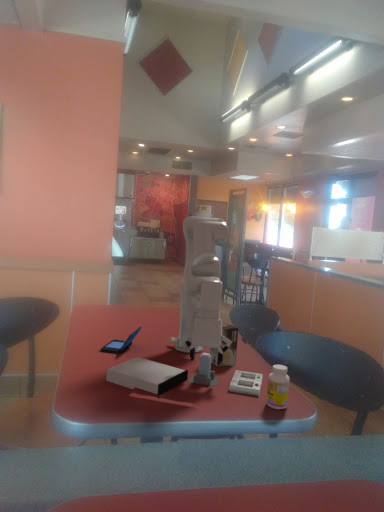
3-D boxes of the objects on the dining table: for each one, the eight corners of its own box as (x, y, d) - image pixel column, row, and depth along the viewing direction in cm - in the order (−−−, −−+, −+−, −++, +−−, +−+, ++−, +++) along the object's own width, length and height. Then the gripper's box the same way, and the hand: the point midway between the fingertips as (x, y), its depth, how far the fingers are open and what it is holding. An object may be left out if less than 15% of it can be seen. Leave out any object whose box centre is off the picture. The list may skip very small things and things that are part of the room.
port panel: (228, 393, 141) (229, 384, 141) (235, 377, 157) (236, 368, 156) (258, 398, 139) (259, 388, 139) (262, 382, 154) (262, 373, 154)
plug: (197, 381, 148) (200, 354, 147) (200, 377, 151) (202, 351, 151) (207, 382, 147) (210, 356, 146) (209, 379, 151) (211, 353, 150)
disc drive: (159, 400, 133) (160, 384, 133) (105, 382, 145) (106, 368, 144) (187, 383, 149) (188, 370, 148) (137, 368, 160) (137, 356, 160)
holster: (187, 384, 147) (188, 374, 146) (192, 376, 154) (193, 367, 154) (215, 389, 144) (216, 379, 144) (219, 381, 152) (220, 371, 152)
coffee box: (227, 361, 175) (230, 324, 174) (235, 366, 169) (239, 327, 168) (208, 363, 171) (211, 325, 169) (216, 368, 165) (219, 329, 164)
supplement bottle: (263, 400, 138) (267, 362, 137) (283, 401, 138) (286, 363, 137) (269, 409, 131) (272, 370, 130) (289, 410, 132) (293, 370, 131)
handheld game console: (113, 342, 191) (114, 322, 191) (141, 346, 189) (142, 325, 188) (99, 352, 176) (100, 330, 175) (129, 356, 173) (130, 334, 173)
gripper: (182, 313, 146) (179, 361, 146) (232, 318, 142) (228, 368, 142) (188, 309, 153) (184, 355, 154) (234, 315, 149) (231, 362, 150)
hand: (205, 361), depth 148 cm, fingers open, 9 cm apart
